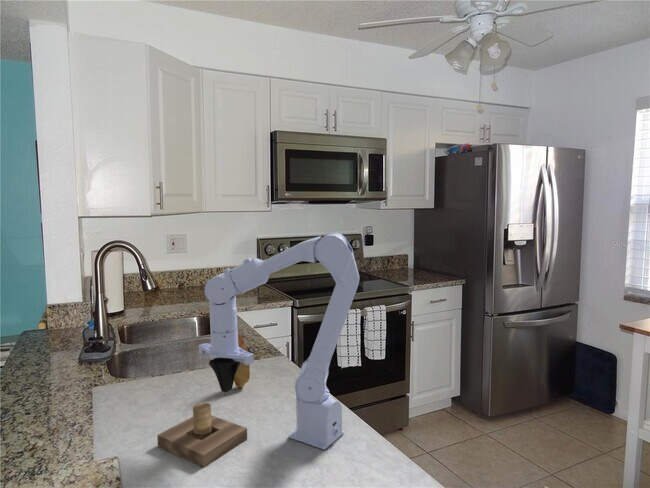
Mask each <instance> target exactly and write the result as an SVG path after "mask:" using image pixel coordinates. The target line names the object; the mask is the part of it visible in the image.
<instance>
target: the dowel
mask: <svg viewBox="0 0 650 488" xmlns="http://www.w3.org/2000/svg"><path fill="white" fill-rule="evenodd" d="M211 407H212V406H211V404H210V403H209V402H199V403H196V404H194V405H193V406H192V417H193V424H194V437H195V438H197V439H200V440H203V439H205V438H206V437H208V436H210V435H211V434H212V428H211V415H212V410H211Z"/></svg>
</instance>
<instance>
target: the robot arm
mask: <svg viewBox="0 0 650 488" xmlns="http://www.w3.org/2000/svg"><path fill="white" fill-rule="evenodd" d="M354 254H355V253H354V250H353V247H352V245H351V244H350V243H349V241H348V239H347V237H345V236H344V235H343V234H341V233H340V232H337V231H335V232H334V231H333V232H328V233H326V234H325V235H324V236H323V237H322V235H320V236H316V237H314V238H311V239H307V240H304V241H302V242H299V243H297V244H295V245H293V246H291V247H289V248H288V249H287V248H286V249H285V250H283V251H281V252H279V253H277V254H275V255H273V256H271V257H269V258H268V259H267V258H266V259H264V260H262V259H260V258H257V257H255V258H252V259H251V257H248V258H246V259H244V260H243V263H241V264H239V265H237V266H236V267H232V268H230V267H227V268H225V269H224V270H223V272H222V273H219V274H217V275H215V276H213V277H212V278H211V279H209V280H208V281H207V282H206V284H205V286H204V294H205V297H206V299H207V300H208V301H209V305H208V306H209V325H210V329H209V331H210V343H208V342H207V343H206V342H205V343H202V344H201V343H200V344H199V345H198V354H199V355H203V354H205V355H208V357H209V358H212V359H211V360H209V361H208V364H209V365H208V366H210V368H211V369H212V371H213V372H214V374H215V376H216V378H217V381H218V385H219V387H220V391H221V392H222V393H227V392H228V393H229V392H230V391H232V390H233V385H234V383H235V382H234V378H235V374H236V371H237V369H238V367H239V365H240V363H241V362H242V363H244V365H249V364H250V365H251V364H253V363H254V353H252V352H249V351H248V350H247V351H245V350H243V349H241V348H240V347H238V334H239V333H238V332H239V331H238V328H239V327H238V308H237V295H242V294H244V293H247V292H248V291H251V290H253V289H255V288H258V287H260V286H262V285H264V284H267V282H268V280H269V278H270V276H271V274H274V273H276V272H279V271H281V270H283V269H285V268H288V267H290V266H293V265H295V264H297V263H300V262H302V261H304V262H308V263H316V262H317V261H318V262H319V263H320V264H321V265H322V266H323V267H324V268H326V269H327V271H329V273H330V275H331V277H332V278H333V281H334V282H335V286H334V288H333V292H332V294H331V297H330V300H329V302H328V305H327V308H326V311H325V314H324V317H323V318H322V322H321V324H320V327H319V330H318V333H317V336H316V339H315V342H314V343H313V346H312V349H311V352H310V354H309V356H308V358H307V359H306V360H305V361H304V362H303V363H302V364H301V367H300V372H299V374H298V377H297V379H296V381H295V382H294V383H295V385H294V391H295V405H296V407H295V408H296V429H294V430H293V431H292V432H291V433H289V434H288V438H290V439H293V440H296V441H299V442H302V443H304V444H307V445H308V446H309V445H310V446H313V447H315V448H319V449H321V450H326V449H327V448H329V447H330V445H332V444H333V443H334V442H335V441H337V440H338V439H339V438H340V437H341V436H342V435H344V434H345V431H344V430H343V417H342V416H343V415H342V414H343V412H342V411H343V409H342V408H343V407H342V405H341V402H340V401H338V400H337V399H335V398H333V397H332V396H331V395H330V390H329V388H328V387H327V379H328V377H329V369H330V364H331V362H332V361H331V360H332V357H333V355H334V352H335V350H336V346H337V343H338V342H339V338H340V336H341V333H342V331H343V328H344V325H345V322H346V320H347V317H348V314H349V313H350V309H351V306H352V305H353V304H352V303H353V301H354V298H355V295H356V293H357V290H358V287H359V285H360V273H359V270H358V266H357V262H356V259H355V255H354Z"/></svg>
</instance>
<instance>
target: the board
mask: <svg viewBox="0 0 650 488" xmlns="http://www.w3.org/2000/svg"><path fill="white" fill-rule="evenodd" d="M211 428H212V434H211V435H210V436H208V437H206V438H205V439H203V440H200V439H197V438H195V437H194V424H193V416H192V417H189V418H187V419H186V420H184V421H182V422H180V423H178V424H175V425H174V426H172V427H170V428H168V429H166V430H164V431H162V432H160V433H158V434H157V439H156V440H157V447H159V448H160V449H162V450H165V451H168V452H169V453H171V454H174V455H176V456H178V457H180V458H182V459H185V460H187V461H189V462H191V463H193V464H196V465H197V466H199V467H203V468H205V467H207V466H208V465H210V464H212V463H213V462H214V461H217V460H218V459H219V458H221V457H222V456H224V455H226V454H227V453H228V452H230V451H231V450H234V449H235V448H236V447H238V446H240V445H241V444H242V443H244V442H246V441H247V440H248V428H247V427H245V426H242V425H239V424H237V423H234V422H231V421H228V420H225V419H223V418H220V417H217V416H214V415H212V414H211Z"/></svg>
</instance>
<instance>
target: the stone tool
mask: <svg viewBox="0 0 650 488" xmlns="http://www.w3.org/2000/svg"><path fill="white" fill-rule="evenodd" d="M238 347H240V348H241V349H243V350H245V351H247V352H248V347H247V346H246V343H245V340H244V338H243V337H242V335H241V333H240V332H239V333H238ZM250 365H251V364H249V365H244V363H242V362H241V363H240V365H239V367H238V369H237V371H236V374H235V378H234V382H233V383H234V384H235V387H236V388H244V386H245V385H246V383H248V382H249V380H250V376H251V375H250Z"/></svg>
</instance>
